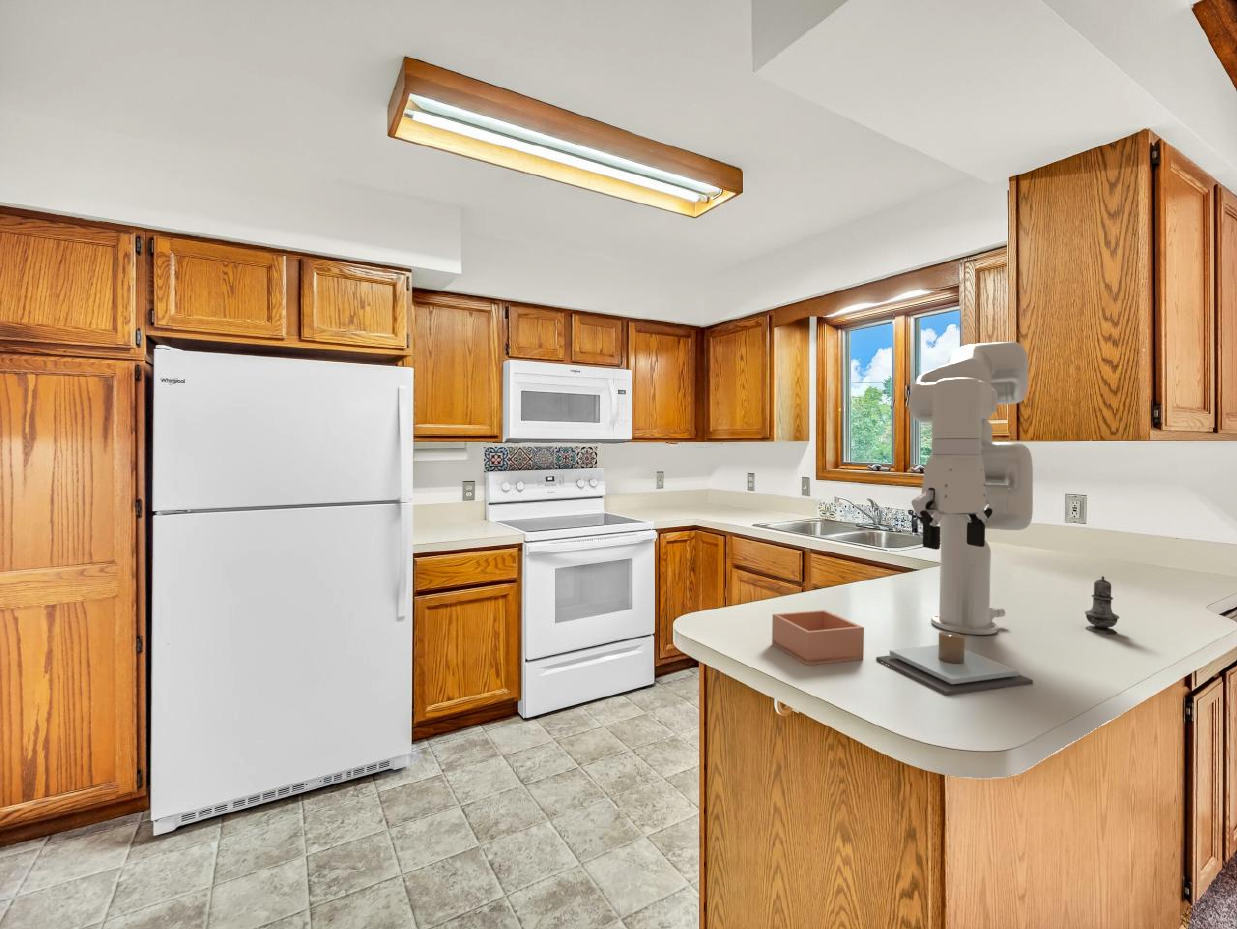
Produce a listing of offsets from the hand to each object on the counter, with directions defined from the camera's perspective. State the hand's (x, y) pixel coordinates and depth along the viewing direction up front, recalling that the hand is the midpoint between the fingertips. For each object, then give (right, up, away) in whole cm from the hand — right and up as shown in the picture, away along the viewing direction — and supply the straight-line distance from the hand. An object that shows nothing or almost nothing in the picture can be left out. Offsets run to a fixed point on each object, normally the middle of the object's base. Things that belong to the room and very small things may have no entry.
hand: (953, 546), depth 103 cm
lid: (0, -21, +1) cm, 21 cm away
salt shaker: (+46, -22, +24) cm, 56 cm away
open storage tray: (-21, -22, +10) cm, 32 cm away
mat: (0, -22, +1) cm, 22 cm away
